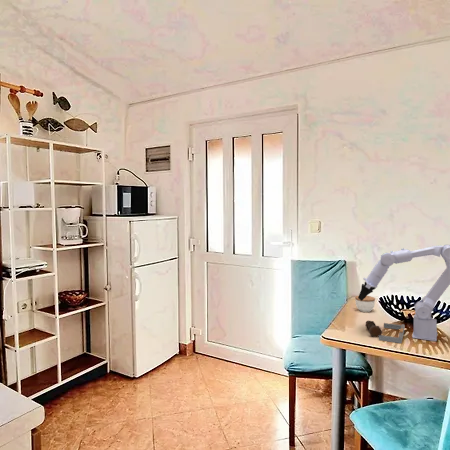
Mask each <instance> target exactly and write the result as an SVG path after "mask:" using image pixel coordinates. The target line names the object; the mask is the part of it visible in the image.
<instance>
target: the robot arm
mask: <svg viewBox="0 0 450 450" xmlns="http://www.w3.org/2000/svg"><path fill="white" fill-rule="evenodd" d="M426 256H427V257H428V256H435V257H439V258H441V257H442V259H443V260H444V263H445V266H446V268H445V269H444V270H443V272H442V273H441V275H440V276H439V277H438V279H436V281H435V283H434V284H433V285H432V287H431V288H430V289H429V291H428V292H427V293H426V295H425V296H422V298H421V300H419V301H417V302H416V303H414V310H415V312H414V313H415V314H414V315H413V332H412V337H411V338H412V339H418V340H425V341H432V342H437V339H438V338H437V337H438V332H437V330H438V329H437V328H438V327H437V326H438V324H437V323H438V322H437V321H438V320H437V319H436V318H432V311H433V310H434V308H435V306H436V303H437V302H438V301H439V299H440V298H441V297H442V295H443V294H444V293H445V292H446V290H447V289H448V288H449V286H450V244H444V245H441V244H440V245H432V246H427V247H423V248H419V249H414V250H410V249H408V248H404V247H403V248H401V250H395V251H393V250H390V252H385V253H383V254H382V255H380V259H379V260H378V261H377V263H376V264H375V265H374V267H373V268H372V269H371V271H370V272H369V274H368V276H367V277H363V280H364V281H365V282H364V283H362V284H361V289H360V291H359V292H360V293H359V294H358V295H357V296H358V299H360V300H361V301H362V300H363V299H364V298H365V297H366V296H369V294H371V293H373V292H374V290H375V289H376V288H378V285H379V284H380V283H381V281H382V280H383V278H384V276H385V275H386V273H387V272H388V271H389V270H388V269H389V268H390V267H391V266H392V265H394V264H396V265H397V264H402V263H403V264H404V263H408V262H411V261H412V260H413V259H414V258H420V257H426Z"/></svg>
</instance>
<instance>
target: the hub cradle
mask: <svg viewBox="0 0 450 450" xmlns="http://www.w3.org/2000/svg"><path fill="white" fill-rule="evenodd" d="M383 328H385V329H392V330H398V329H400V330H399V331H398V337H397V336H396V337H395V336H390V335H382V334H381V335H379V337H378V341H383V342H389V343H395V344H396V343H397V344H403V343H402V342H403V338H404V334H405V330H404V329H405V324H403V323H402V324H395V323H386V322H384V323H383Z"/></svg>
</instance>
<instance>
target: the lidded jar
mask: <svg viewBox="0 0 450 450" xmlns="http://www.w3.org/2000/svg"><path fill="white" fill-rule="evenodd" d="M358 296H359V295H356V296H355V299H354V300H355V301H354V302H355V305H356V308H357V309H358V310H359V312H363V313H370V312H372V310H374V308H375V304H376V301H375V300H376V298H375V297H373V296H369V295H367V296H366V297H365V298H364V299H363V300H362V301H361V300H360V299H358Z"/></svg>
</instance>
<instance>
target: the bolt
mask: <svg viewBox="0 0 450 450" xmlns="http://www.w3.org/2000/svg"><path fill="white" fill-rule="evenodd" d="M365 328H366V329H367V330H368V333H369V334H370V336H371V338H379V335H382V334H383V331H382V329H381V327H380V326H379V325H376V323H375V322H374V321H373V320H366V322H365Z"/></svg>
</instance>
